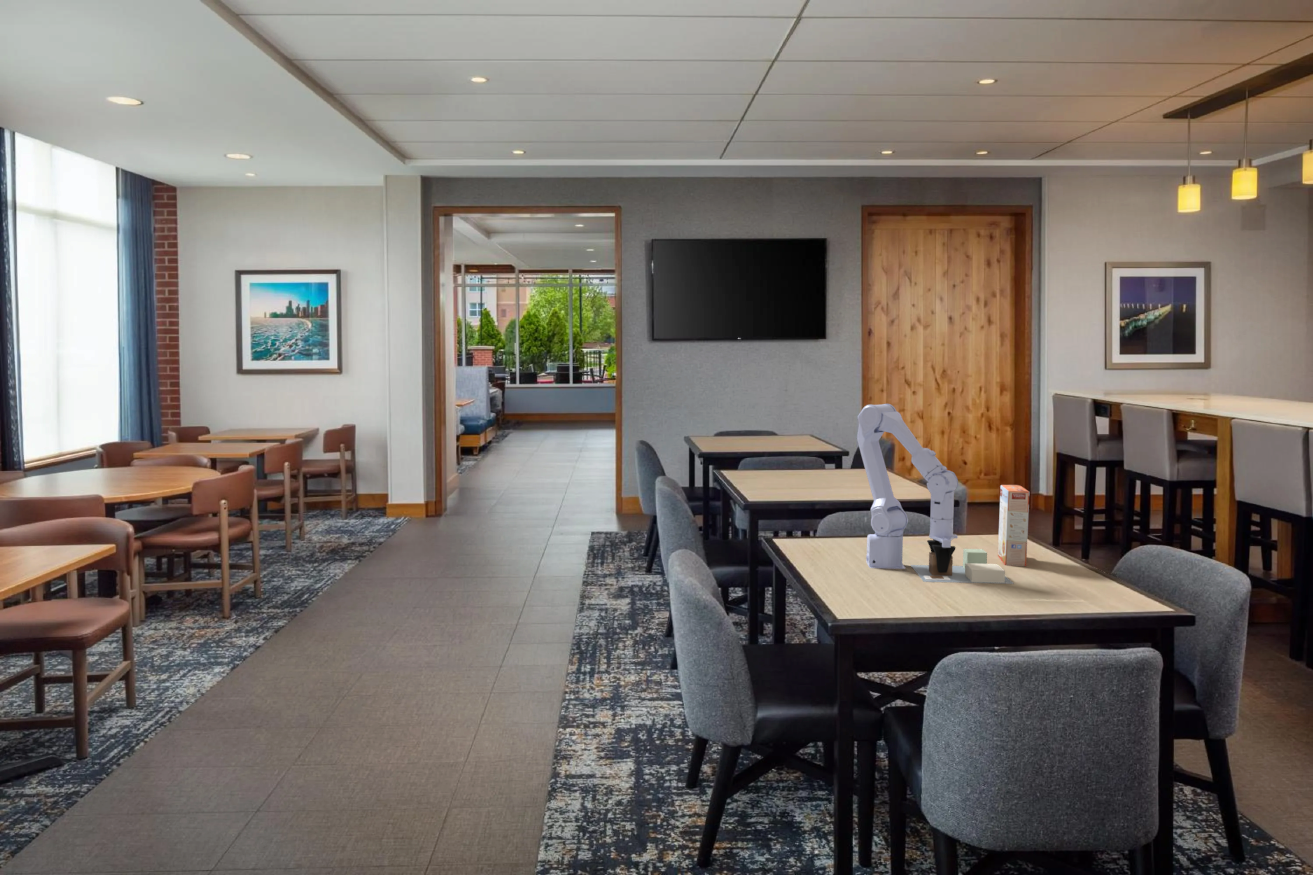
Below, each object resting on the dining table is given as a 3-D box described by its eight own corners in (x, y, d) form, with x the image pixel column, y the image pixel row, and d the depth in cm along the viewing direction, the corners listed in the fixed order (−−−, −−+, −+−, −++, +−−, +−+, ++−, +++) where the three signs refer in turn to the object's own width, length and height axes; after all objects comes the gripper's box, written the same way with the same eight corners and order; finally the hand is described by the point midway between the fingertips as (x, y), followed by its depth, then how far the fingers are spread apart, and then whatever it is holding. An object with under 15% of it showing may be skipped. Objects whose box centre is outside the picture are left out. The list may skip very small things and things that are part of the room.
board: (923, 583, 246) (923, 579, 246) (910, 566, 266) (910, 563, 266) (1013, 585, 244) (1014, 581, 244) (994, 568, 263) (994, 565, 263)
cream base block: (971, 581, 246) (972, 569, 245) (964, 574, 253) (965, 563, 253) (1004, 582, 245) (1005, 570, 245) (996, 575, 253) (997, 563, 252)
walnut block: (932, 575, 253) (932, 556, 252) (928, 571, 258) (929, 552, 257) (952, 575, 252) (952, 556, 252) (948, 571, 257) (948, 552, 257)
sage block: (967, 571, 258) (967, 552, 257) (962, 567, 263) (963, 548, 262) (986, 571, 257) (987, 552, 257) (982, 567, 262) (982, 549, 262)
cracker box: (1027, 568, 264) (1030, 490, 263) (1004, 567, 266) (1006, 490, 264) (1019, 557, 278) (1021, 484, 276) (997, 556, 279) (999, 483, 278)
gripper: (963, 523, 246) (962, 576, 247) (951, 513, 261) (950, 564, 262) (934, 522, 247) (933, 575, 248) (924, 513, 261) (923, 563, 262)
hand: (940, 569), depth 255 cm, fingers closed on walnut block, 5 cm apart
